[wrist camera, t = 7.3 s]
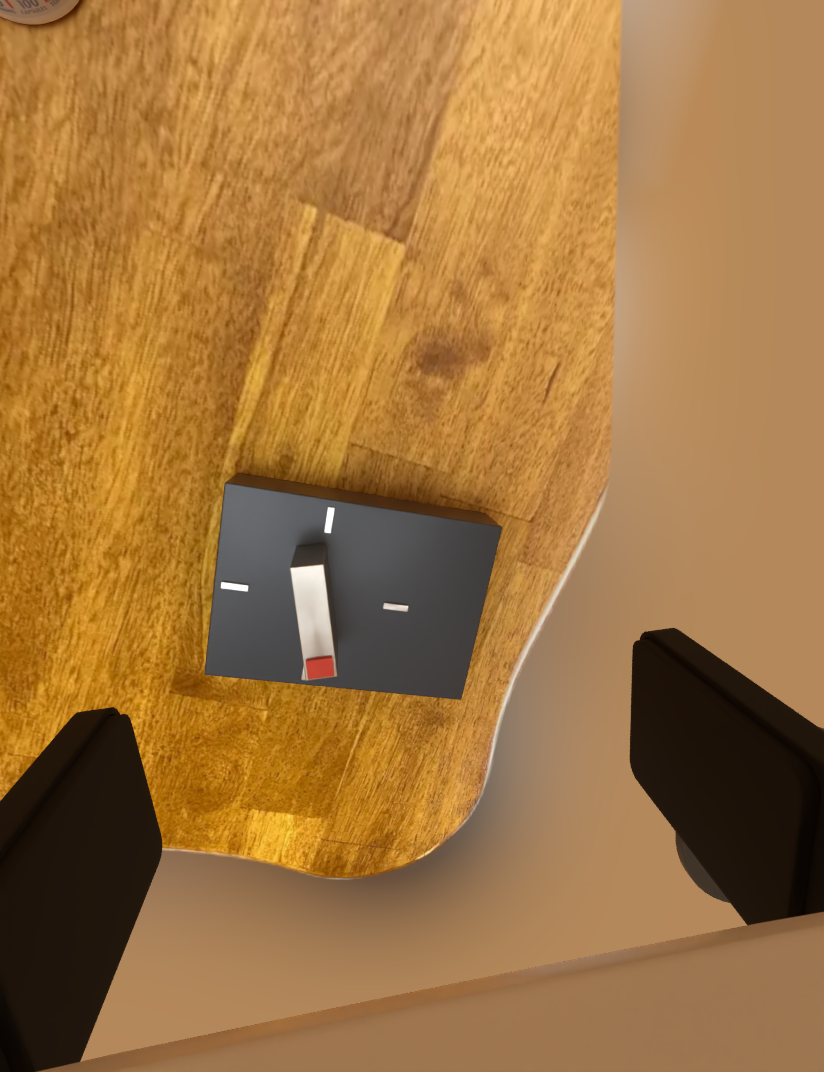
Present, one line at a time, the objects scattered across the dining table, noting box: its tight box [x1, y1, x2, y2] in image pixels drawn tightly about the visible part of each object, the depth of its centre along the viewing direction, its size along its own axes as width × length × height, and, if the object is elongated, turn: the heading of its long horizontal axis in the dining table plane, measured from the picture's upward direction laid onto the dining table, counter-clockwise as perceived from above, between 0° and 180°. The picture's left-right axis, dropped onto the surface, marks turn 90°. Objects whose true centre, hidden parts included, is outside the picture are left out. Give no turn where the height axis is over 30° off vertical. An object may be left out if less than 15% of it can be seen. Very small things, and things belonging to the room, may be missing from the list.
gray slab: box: [290, 544, 338, 681], centre depth 27 cm, size 6×2×4 cm, turn 4°
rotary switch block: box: [205, 473, 502, 700], centre depth 31 cm, size 15×11×4 cm
